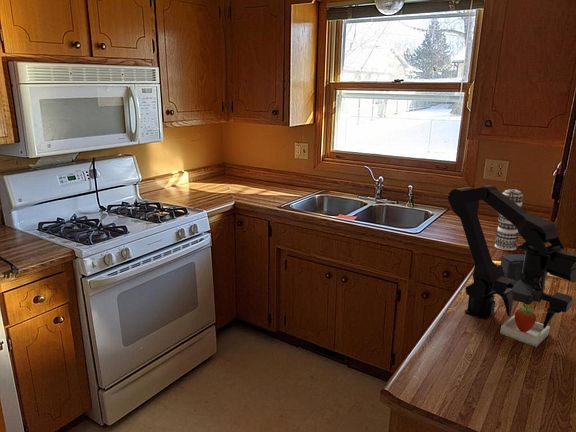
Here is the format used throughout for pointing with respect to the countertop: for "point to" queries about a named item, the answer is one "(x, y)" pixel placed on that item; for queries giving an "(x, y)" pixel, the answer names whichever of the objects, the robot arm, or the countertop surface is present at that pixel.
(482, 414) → the countertop surface
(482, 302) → the robot arm
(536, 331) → the bin
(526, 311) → the fruit
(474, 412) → the countertop surface
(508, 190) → the decorative candle
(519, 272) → the box
